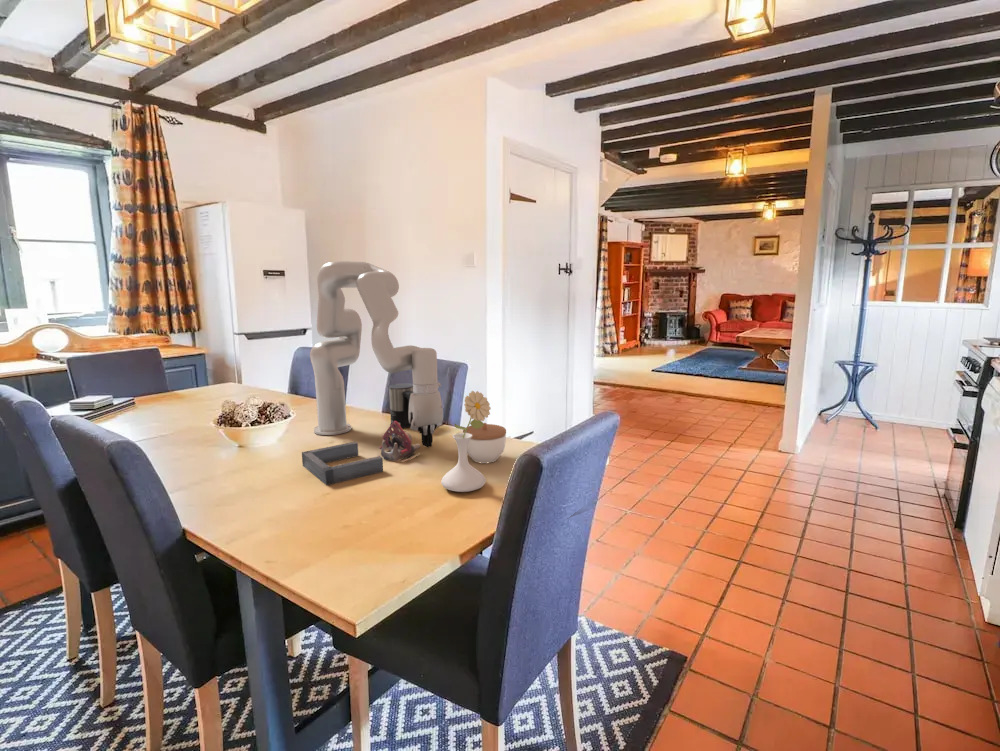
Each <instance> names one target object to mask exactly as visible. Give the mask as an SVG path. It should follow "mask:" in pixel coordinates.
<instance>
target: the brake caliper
mask: <svg viewBox="0 0 1000 751" xmlns="http://www.w3.org/2000/svg"><path fill="white" fill-rule="evenodd" d="M390 424H391V423H390ZM390 436H391V437H390ZM412 441H413V437H412V435H411V433H410V432H409V431H407V430H404V429H403V428H401V426H400V423H398V422H397V421H394V422H393V423H392V424H391V426H390V425H389V427H387V430H386V431H385V432H384V433H383V435H382V443H381V446H379V447H378V449H379V450H380V451H381V452H380V456H381V457H382V458H383V459H384V460H390V461H392V462H397V461H398V462H399V461H400V462H406V461H411V460H412V459H414V457H415V458H416V456H417V457H419V456H420V455H419V454H420V453H417V454H414V453H415V452H416V451H417V450H418V449H420V448H421V444H420V443H414V444H412ZM413 454H414V455H413ZM418 455H419V456H418ZM410 459H411V460H410Z"/></svg>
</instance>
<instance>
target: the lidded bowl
mask: <svg viewBox="0 0 1000 751" xmlns="http://www.w3.org/2000/svg"><path fill="white" fill-rule="evenodd" d="M483 423H484V425H483V426H482V427H481V428H478V429H475V428H473V427H472V426H471V425H469V427H468V429H467V431H466V433H469V434H472V438H471V439H470V441H469V443H468V450H467V456H468V457H470V458H471V459H472V461H473V460H474V461H476V462H481V463H480V464H483V463H486V464H488V463H487V462H493V463H495V462H497V461H498V459H499V458H500V457H501V455H502V454H503V452H504V451H505V447H506V438H507V437H506V436H507V429H506V428H505V427H504V426H502V425H498V424H492V423H486V422H483ZM465 428H467V426H465ZM464 432H465V430H463V429H462V433H464ZM496 460H497V461H496ZM474 461H473V462H474ZM494 461H495V462H494ZM476 462H475V463H476Z"/></svg>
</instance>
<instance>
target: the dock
mask: <svg viewBox="0 0 1000 751" xmlns="http://www.w3.org/2000/svg"><path fill="white" fill-rule="evenodd" d="M355 457H359V444H358V442H356V441H353V442H352V441H351V442H345V443H343V444H342V443H341V444H336V445H331V446H327V447H320V448H317V449H312V450H306V451H301V462H302V466H303V467H304V468H305V469H306V470H308V472H310V473H311V474H312V475H313V476H314V477H316V479H318V480H320V482H321V483H323V484H324V485H325V486H330V485H333V484H339V483H343V482H346V481H351V480H355V479H359V478H362V477H363V478H364V477H367V476H371V475H375V474H379V473H383V472H384V462H383V461H384V460H383V459H384V458H383V457H382V456H381V455H377V456H373V457H369V458H364V459H360V460H356V461H350V462H347V463H342V464H337V465H334V466H330V465H328V464H327V463H332V462H336V461H342V460H346V459H351V458H355Z"/></svg>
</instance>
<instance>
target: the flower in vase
mask: <svg viewBox="0 0 1000 751" xmlns="http://www.w3.org/2000/svg"><path fill="white" fill-rule="evenodd" d="M464 402H465V403H464V410H465V413H467V415H468V416H469V422H468V423H467V426H463V425H462V426H461V425H458V424H457V423H454V427H455V428H456V429H460V430H462V431H463V430H465V432H464V433H463V432H459V433H458V432H456V433H454V434H452V438H453V439H454V441H455V443H456V445H457V450H458V451H457V452H458V453H457V454H458V461H457V464H456V465H455V466H453V468H451V469H450V470H448V471H447V472H446V473H445V474H444V476H442V478H441V481H440V483H441V486H443V488H444V489H445V490H449V491H453V492H457V493H466V492H472V491H473V492H474V491H475V490H479V489H481V488H483V487H484V485H485V484H486V482H487V481H486V480H487V479H486V478H485V475H484V474H483V473H481V471H479V470H478V469H476V468H475V467H473V466H472V465H471V464H470V463H469V459H468V454H467V450H468V443H469V441H470V439H471V438H472V434H469V433H466V431H467V429H468V427H469V426H472V427H473V428H475V429H478V428H481V427H482V426H483V425H484V423H485V422H484V421H485V420H486V418H489V416H490V415H491V412H490V410H491V406H490V402H489V401H488V398H487V397H486V396H484V394H483V393H482V392H480V391H478V390H477V391H473V390H472V391H471V392H469V394H468V395H466V396H465V398H464ZM466 427H467V428H466Z"/></svg>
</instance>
